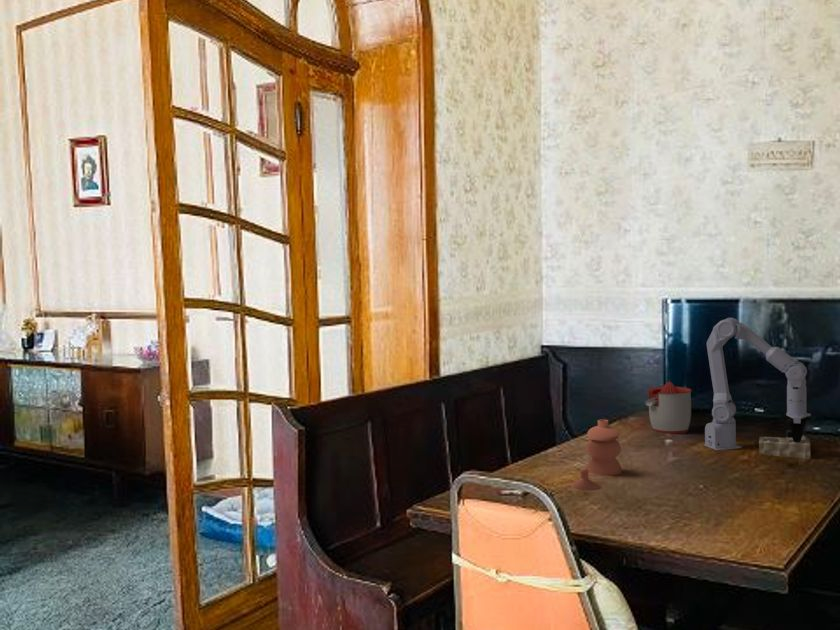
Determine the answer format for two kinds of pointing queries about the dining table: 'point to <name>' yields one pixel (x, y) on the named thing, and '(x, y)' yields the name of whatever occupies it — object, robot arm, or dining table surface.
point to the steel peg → (771, 440)
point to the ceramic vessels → (600, 455)
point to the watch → (789, 435)
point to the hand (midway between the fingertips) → (796, 441)
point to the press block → (784, 447)
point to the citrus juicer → (669, 408)
